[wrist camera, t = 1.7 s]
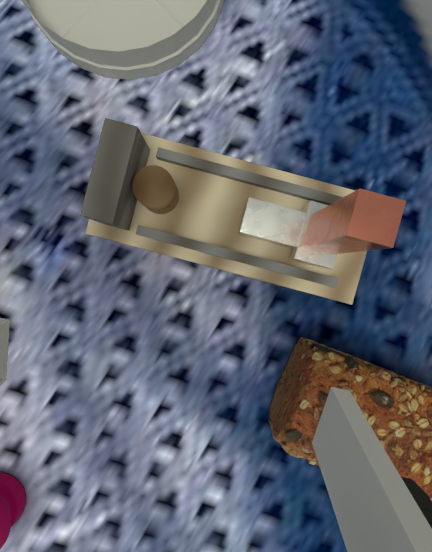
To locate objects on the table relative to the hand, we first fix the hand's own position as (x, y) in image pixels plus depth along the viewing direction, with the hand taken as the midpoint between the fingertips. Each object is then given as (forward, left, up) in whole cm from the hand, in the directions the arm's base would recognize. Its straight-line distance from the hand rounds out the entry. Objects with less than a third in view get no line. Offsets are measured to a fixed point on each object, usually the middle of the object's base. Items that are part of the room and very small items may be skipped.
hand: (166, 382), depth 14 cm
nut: (-13, -2, -23) cm, 27 cm away
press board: (-9, +6, -25) cm, 27 cm away
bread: (+14, +16, -25) cm, 33 cm away
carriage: (-7, +11, -23) cm, 26 cm away
